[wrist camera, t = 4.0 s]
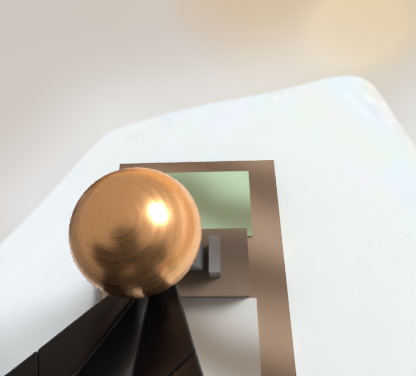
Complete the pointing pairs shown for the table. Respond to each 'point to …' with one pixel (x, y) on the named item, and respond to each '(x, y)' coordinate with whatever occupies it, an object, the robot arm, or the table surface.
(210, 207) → the switch base
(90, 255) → the toggle lever
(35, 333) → the table surface
